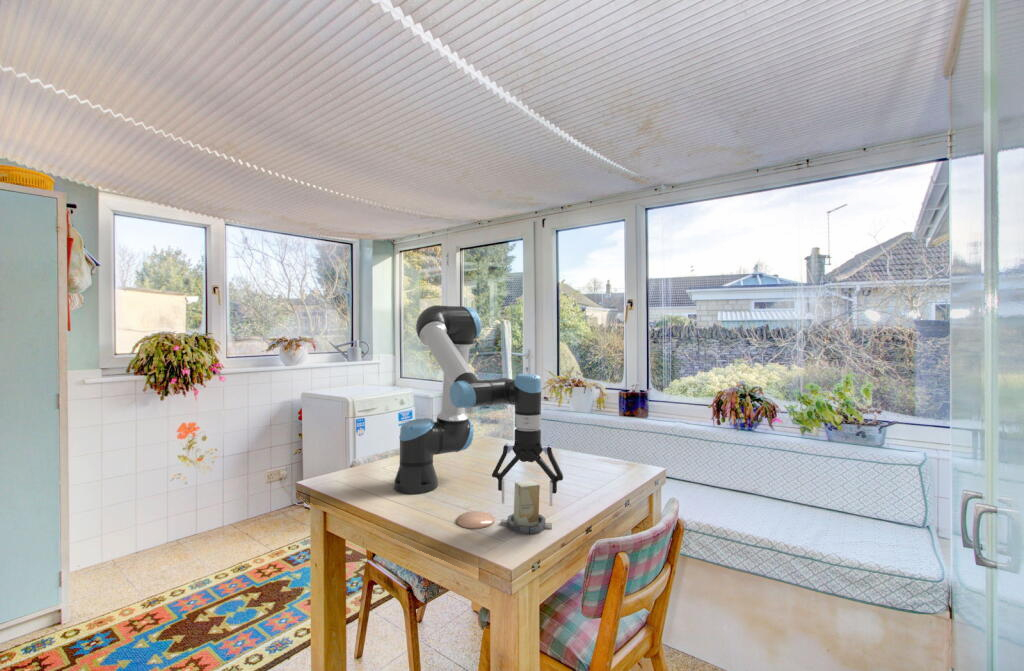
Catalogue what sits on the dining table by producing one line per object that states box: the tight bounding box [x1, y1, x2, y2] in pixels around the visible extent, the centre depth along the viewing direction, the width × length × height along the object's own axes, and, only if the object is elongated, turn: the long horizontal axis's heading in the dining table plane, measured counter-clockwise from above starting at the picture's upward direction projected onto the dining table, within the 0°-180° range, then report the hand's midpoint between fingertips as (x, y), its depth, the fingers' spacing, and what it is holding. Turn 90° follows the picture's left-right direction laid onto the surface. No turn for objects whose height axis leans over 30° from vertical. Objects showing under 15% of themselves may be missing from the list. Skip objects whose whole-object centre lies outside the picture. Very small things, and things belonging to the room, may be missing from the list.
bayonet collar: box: [500, 513, 553, 535], centre depth 129 cm, size 15×11×2 cm
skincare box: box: [513, 480, 540, 526], centre depth 129 cm, size 6×4×12 cm
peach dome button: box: [456, 510, 495, 530], centre depth 132 cm, size 11×11×1 cm
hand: (527, 503), depth 129 cm, fingers open, 13 cm apart
